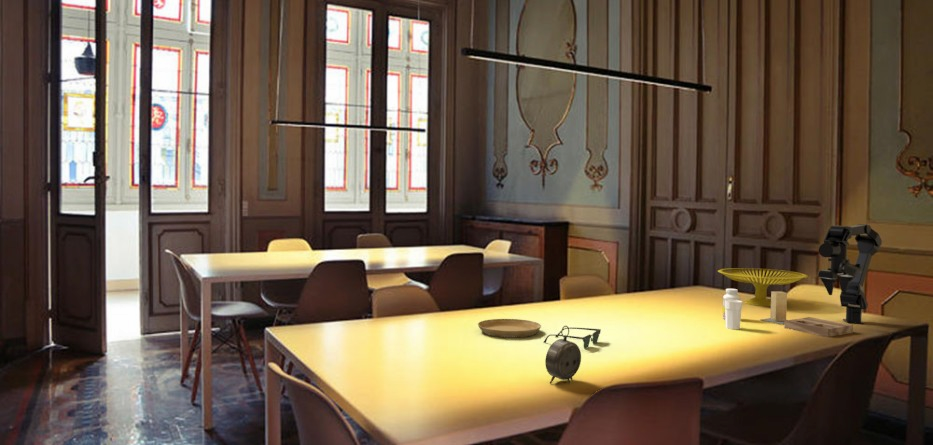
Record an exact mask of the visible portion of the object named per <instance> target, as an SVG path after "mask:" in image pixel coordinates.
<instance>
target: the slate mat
mask: <svg viewBox="0 0 933 445" xmlns="http://www.w3.org/2000/svg"><path fill="white" fill-rule="evenodd" d="M759 320H762V321H761V322H765V321H768V322H767V323H770V322H773V323H772V324H775V323H778V324H777V325H780V324H783V325H785V322H775V321H773V320H770V318H769V317H768V318H761V319H759Z"/></svg>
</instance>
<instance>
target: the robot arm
mask: <svg viewBox="0 0 933 445" xmlns="http://www.w3.org/2000/svg"><path fill="white" fill-rule="evenodd" d="M853 236H855V237H854V240H855V241H856V247H857V250H858V256H857V258H856V261H855V264H852V263H850V262H851V261H850V259H849V258H848V257H847V256H848V246H849V245H850V243H849V240H850V239H852V237H853ZM882 242H883V241H882V238H881V236H880V233H878V232H877V231H875V230H874V229H873V228H872V227H871V225H870V224H868V223H867V224H864V223H862V224H861V223H858V224H855V225H854V224H853V225H835V224H833V225H830V227H829V229H828V230H827V232H826V234H825V238H824V239H823V243H822V244H821V245H819V248H818V253H819V254H820V256H821V257H823V258H828V259H827V260H828V262H829V263H830V267H828V268H827V269H820V270H819V271H818V272H817V277H818V278H819V279H820V280H821V281H822V283H823V285H824V287H825V290H826V291H827V294H828V295H829V296H832V295H833V292H834V287H835V283H836V282H837V280H838V283H839V286H840V291H841V292H840V294H839V300H840V307H844V308H846V309H845V318H842V321H843V322H845V323H846V324H865V321H863V320H862V314H863V313H862V312H863V310H867V309H868V307H869V303H868V301H867V299H866V297H865V295H866V292H865V291H864V282H865V280H866V277H867V273H868V270H869V266H870V265H871V264H870V263H871V260H872V257H873V256H874V255H876V254H877V253H878V252H879V250H880V247H881V246H882Z"/></svg>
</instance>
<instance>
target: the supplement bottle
mask: <svg viewBox="0 0 933 445" xmlns="http://www.w3.org/2000/svg"><path fill="white" fill-rule="evenodd" d="M738 291H739V290H738V289H736V288H725V293H726V294H723V297H722V318H723V319H724V320H725V300H740V301H741V297H740V295H738Z"/></svg>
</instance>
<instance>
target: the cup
mask: <svg viewBox="0 0 933 445" xmlns="http://www.w3.org/2000/svg"><path fill="white" fill-rule="evenodd" d="M742 309H743V300H741V299H740V300H725V319H724V320H725V328H726V329H727V328H728V329H727V330H733V329H738V330H740V329H741V318H742Z"/></svg>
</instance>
